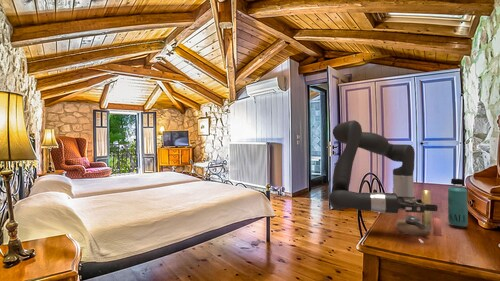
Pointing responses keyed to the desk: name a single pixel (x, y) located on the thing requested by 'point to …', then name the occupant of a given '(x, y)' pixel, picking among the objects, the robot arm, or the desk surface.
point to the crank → (425, 216)
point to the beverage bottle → (457, 204)
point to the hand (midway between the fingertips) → (433, 205)
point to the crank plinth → (411, 228)
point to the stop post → (437, 226)
